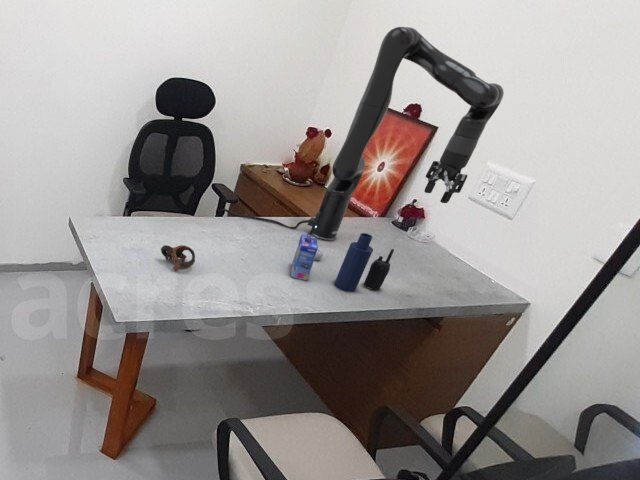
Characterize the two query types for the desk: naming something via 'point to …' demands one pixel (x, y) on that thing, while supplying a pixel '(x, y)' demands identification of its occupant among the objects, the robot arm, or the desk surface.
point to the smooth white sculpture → (318, 255)
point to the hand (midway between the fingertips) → (435, 197)
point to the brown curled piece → (178, 256)
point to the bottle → (354, 264)
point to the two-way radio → (378, 272)
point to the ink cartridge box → (304, 257)
